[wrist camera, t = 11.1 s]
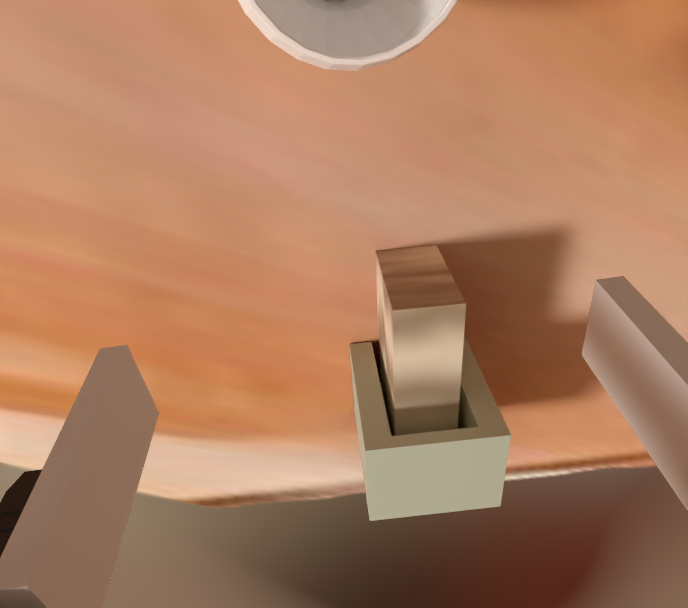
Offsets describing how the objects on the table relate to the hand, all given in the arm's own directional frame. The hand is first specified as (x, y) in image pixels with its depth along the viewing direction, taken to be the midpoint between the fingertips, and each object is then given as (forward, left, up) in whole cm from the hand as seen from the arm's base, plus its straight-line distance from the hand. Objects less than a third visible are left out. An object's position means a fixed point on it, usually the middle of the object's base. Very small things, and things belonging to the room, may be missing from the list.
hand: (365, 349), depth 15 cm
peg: (+17, +6, -26) cm, 32 cm away
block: (+23, +6, -26) cm, 35 cm away
